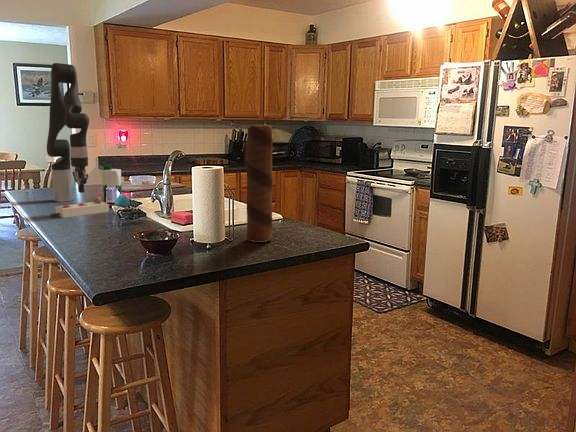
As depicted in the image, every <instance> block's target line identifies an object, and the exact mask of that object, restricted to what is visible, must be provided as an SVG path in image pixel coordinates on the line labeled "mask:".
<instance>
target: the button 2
mask: <svg viewBox="0 0 576 432" xmlns="http://www.w3.org/2000/svg"><path fill="white" fill-rule="evenodd" d="M86 203H87V202H79V203H78V204H79V206H86Z"/></svg>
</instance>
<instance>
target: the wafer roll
mask: <svg viewBox="0 0 576 432" xmlns="http://www.w3.org/2000/svg"><path fill="white" fill-rule="evenodd" d="M246 138H247V139H246V150H245V153H246V155H245V157H246V158H245V159H246V160H245V161H246V170H245V171H246V217H247V218H246V223H247V224H246V240H247V239H249V240H254V241H265V240H269V239H271V238H272V239H273V203H272V201H273V200H272V199H273V182H274V181H273V127H272V126H271V125H270V124H261V125H256V124H251V125H249V126H248V127H247V137H246Z"/></svg>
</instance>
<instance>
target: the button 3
mask: <svg viewBox="0 0 576 432" xmlns="http://www.w3.org/2000/svg"><path fill="white" fill-rule="evenodd" d="M93 200H94V201H93V202H94V203H101V202H102V198H101V197H100V196H94V197H93Z"/></svg>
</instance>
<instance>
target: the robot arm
mask: <svg viewBox="0 0 576 432" xmlns="http://www.w3.org/2000/svg"><path fill="white" fill-rule="evenodd" d="M50 70H51V71H50V72H51V73H50V77H51V78H50V86H51V87H50V102H49V103H50V104H49V119H48V120H49V122H48V123H49V124H48V132H47V133H48V135H47V140H46V152H47V155H48V156H49V157H51V158H59V157H61V159H60V160H58V161H56V162H54V163H52V164H51V177H52V186H53V187H52V188H53V201H54V202H59V203H61V202H63V203H64V202H71V201H73V188H72V176H73V178H74V182H75V183H76V184H77V187H78V188H77V189H78V193H85V185H86V184H87V181H88V178H89V174H87V171H86V170H87V169H86V167H89V154H88V153H89V152H88V147H87V145H88V144H87V134H88V128H89V124H90V118H89V116H88V114H87V113H83V112H82V111H83V107H82V104H81V99H80V96H79V95H80V94H79V84H78V83H79V81H78V73H77V68H76V67H75V66H74V65H73V64H69V63H68V64H67V63H61V62H60V63H59V62H54V63H52V64H51V69H50ZM60 83H61V84H68V85H69V84H70V86H69V87H68V89H67V90H66V92H65V93H64V94H63V93H62V91H61V89H60V85H59V84H60ZM65 127H67V128H68V129H80V131H79V132H76V133H71V134H70V136H69V140H67V139H63V138H62V139H57V138H58V135H59V133H60V132H61V131H62V130H63V129H64V128H65ZM71 167H73V168H74V171H72V173H71Z"/></svg>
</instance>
